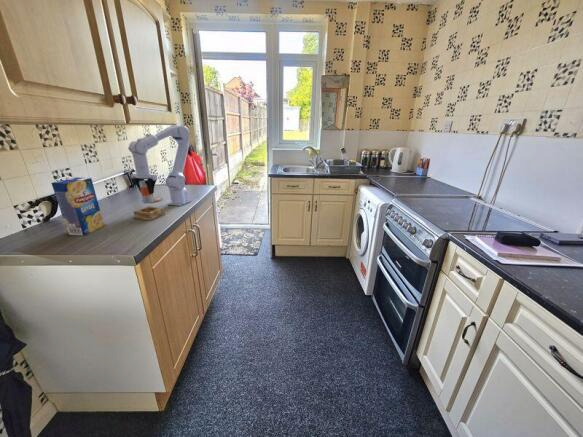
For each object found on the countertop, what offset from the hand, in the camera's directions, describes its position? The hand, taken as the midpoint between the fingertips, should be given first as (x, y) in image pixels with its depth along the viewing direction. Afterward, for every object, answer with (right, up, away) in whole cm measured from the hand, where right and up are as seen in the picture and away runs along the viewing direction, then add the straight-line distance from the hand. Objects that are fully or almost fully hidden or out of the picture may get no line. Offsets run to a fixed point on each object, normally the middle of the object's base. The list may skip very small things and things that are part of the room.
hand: (147, 192), depth 127 cm
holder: (+3, -12, -3) cm, 13 cm away
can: (0, -4, +2) cm, 5 cm away
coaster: (-10, -2, +23) cm, 25 cm away
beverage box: (-14, -19, -20) cm, 31 cm away
